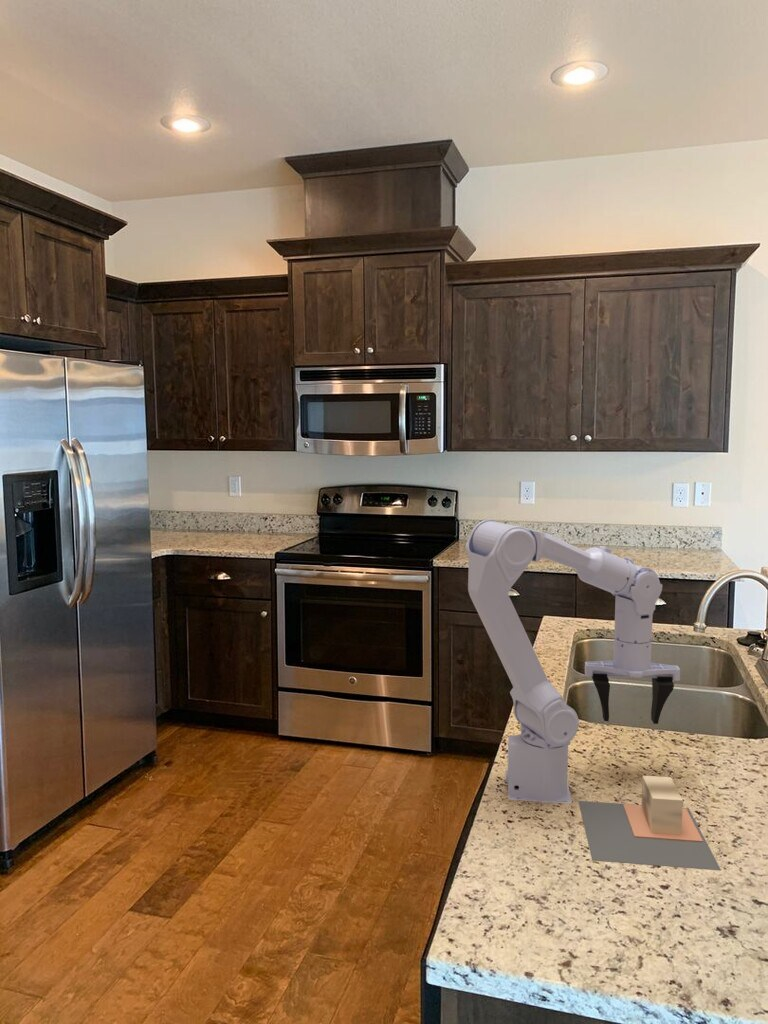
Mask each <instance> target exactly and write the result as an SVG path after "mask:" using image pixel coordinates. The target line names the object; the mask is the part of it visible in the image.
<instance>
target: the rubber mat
mask: <svg viewBox="0 0 768 1024" xmlns="http://www.w3.org/2000/svg"><path fill="white" fill-rule="evenodd" d="M578 805H579V809H580V813H581V818H582V821H583V827H584V831H585V835H586V838H587V840H586V841H587V844H588V847H589V853H590V856H591V861H595V862H596V861H597V862H606V863H618V864H619V863H620V864H635V865H645V866H657V867H669V868H670V867H671V868H672V867H673V868H682V869H683V868H684V869H694V870H695V869H698V870H710V871H719V872H720V871H722V869H721V867H720V865H719V863H718V861H717V859H716V858H715V856H714V854H713V852H712V850H711V848H710V846H709V844H708V842H707V841H706V839H705V837H704V834H703V833H702V831H701V829H700V826H699V825H698V824H697V821H696V819H695V818H694V815H693V814H692V812H691V810H690V808H689V807H683V810H682V833H681V835H677V834H663V833H651V831H650V828H649V826H648V823H647V821H646V818H645V816H644V813H643V811H642V808H641V806H642V804H633V803H631V804H630V803H620V802H619V803H616V802H603V801H588V800H586V801H585V800H578Z"/></svg>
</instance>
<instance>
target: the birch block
mask: <svg viewBox="0 0 768 1024" xmlns="http://www.w3.org/2000/svg"><path fill="white" fill-rule="evenodd" d="M641 781H642V782H641V784H642V785H641V805H642V806H641V808H642V811H643V813H644V816H645V818H646V821H647V823H648V826H649V828H650V831H651V833H663V834H677V835H681V833H682V810H683V808H684V807H683V805H684V800H683V798H682V796H681V794H680V792H679V790H678V789H677V786H676V784H675V783H674V780H673V779H672V777H670V776H655V775H642V779H641Z"/></svg>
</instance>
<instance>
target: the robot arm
mask: <svg viewBox="0 0 768 1024" xmlns="http://www.w3.org/2000/svg"><path fill="white" fill-rule="evenodd" d="M464 549H465V550H466V551H465V552H466V555H467V557H468V577H467V578H468V580H467V581H468V582H467V592H468V595H469V597H470V600H471V602H472V603H473V606H474V608H475V610H476V612H477V614H478V616H479V618H480V620H481V622H482V624H483V626H484V629H485V630H486V633H487V635H488V637H489V640H490V641H491V643H492V645H493V648H494V650H495V652H496V653H497V656H498V658H499V660H500V662H501V664H502V666H503V668H504V670H505V672H506V674H507V677H508V678H509V681H510V682H511V685H512V688H511V690H510V691H509V694H510V696H511V699H512V703H513V709H512V710H513V715H514V718H515V719H516V721H517V722H518V723H519V724H520V725H519V726H520V727H519V728H520V730H519V731H520V734H516V735H508V739H507V770H505V783H507V796H508V800H513V801H524V802H525V801H527V802H541V803H556V804H568V805H569V804H572V803H573V802H572V796H571V791H570V788H569V783H568V773H569V771H568V769H569V767H568V766H569V765H568V764H569V763H568V762H569V746H570V745H571V741H572V740H574V738H575V736H576V735H577V732H578V729H579V726H580V725H579V724H580V723H579V722H580V721H579V716H578V714H577V712H576V710H574V708H572V707H571V706H569V705H568V704H567V703H566V701H565V699H564V697H563V696H562V694H561V693H560V692H559V691H558V690H557V688H555V686H554V685H553V684H552V683H551V682H550V680H549V679H548V677H547V675H546V673H545V671H544V668H543V666H542V664H541V662H540V659H539V657H538V656H537V654H536V653H537V652H536V651H535V649H534V647H533V645H532V643H531V641H530V638H529V636H528V634H527V632H526V629H525V628H524V625H523V623H522V621H521V619H520V616H519V615H518V613H517V610H516V608H515V606H514V604H513V602H512V599H511V598H510V596H509V592H510V590H511V589H512V587H513V586H514V584H515V583H516V582H517V580H518V579H519V578H520V577H521V575H522V574H523V573H524V572H525V570H526V569H527V568H528V567H529V565H530V564H531V563H532V562H535V563H537V562H540V561H541V560H542V559H543V558H544V559H547V560H549V561H552V562H554V563H558V564H561V565H563V566H566V567H568V568H571V569H574V570H576V574H577V576H578V578H579V579H580V581H582V583H583V582H584V583H586V584H588V585H591V586H593V587H596V588H599V589H601V590H603V591H606V592H607V593H610V594H612V596H613V597H615V599H614V600H615V606H614V607H615V608H614V612H615V613H614V631H613V632H614V636H613V660H601V661H600V660H599V661H597V660H596V661H584V675H585V677H586V678H587V677H589V678H590V677H591V679H592V681H593V684H594V686H595V689H596V692H597V694H598V697H599V702H600V705H601V714H602V719H603V722H609V720H610V707H609V705H610V702H609V701H610V692H611V691H610V689H611V684H610V682H609V681H610V678H609V677H617V678H618V677H619V678H637V679H638V678H640V679H651V690H652V691H651V692H652V695H651V696H652V698H651V710H650V718H651V721H652V723H653V725H659V721H660V718H661V713H662V711H663V708H664V707H665V704H666V701H667V699H668V698H669V696H670V695H671V693H672V692H673V690H674V688H675V683H674V681H675V682H676V681H677V682H679V681H681V668H680V667H679V666H678V665H675V664H674V665H673V664H672V665H671V664H663V663H657V662H651V661H652V641H653V636H652V635H653V615H654V611H656V603H657V601H658V599H659V598H660V595H661V594H662V591H663V584H662V583H661V582H660V581H661V580H660V579H659V576H658V574H656V572H655V571H654V570H653V569H652V568H650V567H647V566H641V565H639V564H638V565H637V564H635V562H634V559H632V558H631V557H626V556H625V557H624V558H623V557H620V556H619V555H615V554H614V553H612V548H610V547H607V546H604V545H603V546H602V545H600V546H599V547H596V546H594V547H590V548H587V549H586V550H583V549H581V548H579V547H576V546H574V545H572V544H570V543H568V542H566V541H565V540H562V539H559V538H557V537H555V536H553V535H551V534H549V533H547V532H544V531H541V530H535V529H531V528H527V527H525V526H524V527H523V526H520V525H512V524H509V523H503V522H499V521H497V520H494V519H484V520H482V521H480V522H478V523H477V524H476V525H475V526H474V527H473V529H472V531H471V532H470V535H469V537H468V538H467V541H466V543H465V546H464Z"/></svg>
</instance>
